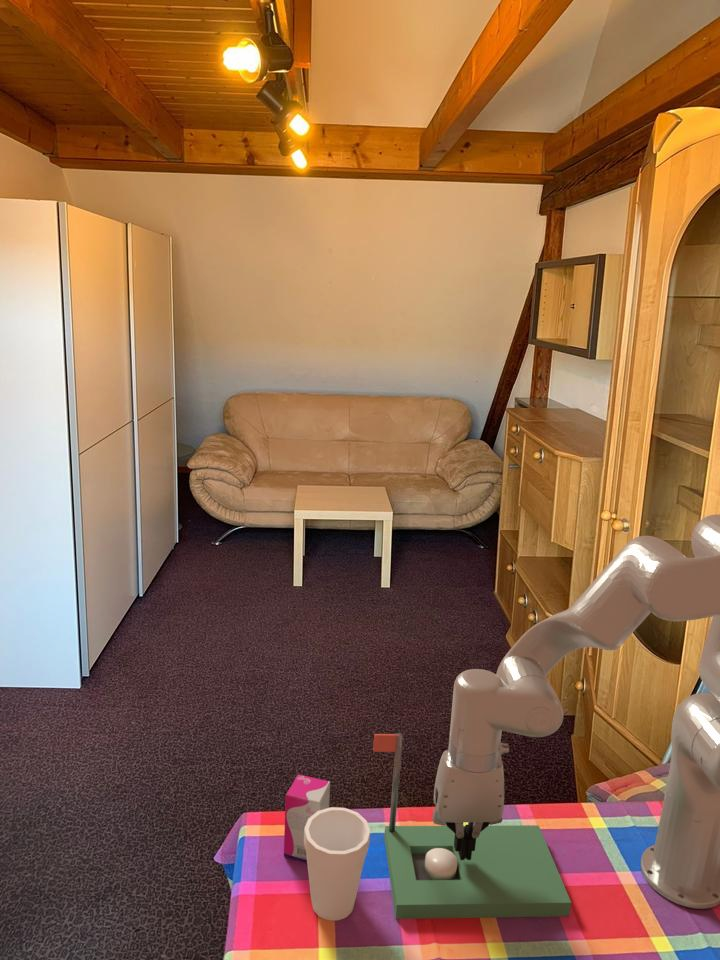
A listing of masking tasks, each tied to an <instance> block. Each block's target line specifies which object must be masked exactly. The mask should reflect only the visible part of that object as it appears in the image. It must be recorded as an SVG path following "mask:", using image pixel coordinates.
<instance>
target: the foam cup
mask: <svg viewBox="0 0 720 960" xmlns="http://www.w3.org/2000/svg"><path fill="white" fill-rule="evenodd" d="M370 841H371V829H370V826H369V822H368V820H367V819H365V818H364V817H363V816H362V815H361V814H360V813H359V812H357V811H355V810H352V809H349V808H346V807H335V806H334V807H333V806H332V807H330V806H329V808H327V809H323V810H320V811H317V812H316V813H315V814H314V815H312V816H311V817H310V818H309V819H308V821H307V823H306V826H305V828H304V845H305V849H306V855H307V862H306V863H307V872H308V881H309V890H310V900H311V905H312V910H313V911H314V913H315V914H316V915H317V916H318V917H320V918H322V919H325V920H326V921H338V922H339V921H340V920H343V919H346V918H347V917H348V916H349V915H350V914H352V912H353V911H354V908H355V903H356V899H357V894H358V889H359V885H360V882H361V876H362V874H363V873H362V872H363V868H364V864H365V860H366V856H367V855H368V851H369V847H370Z"/></svg>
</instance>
